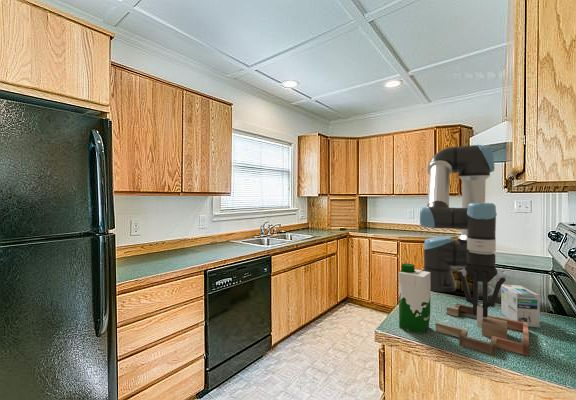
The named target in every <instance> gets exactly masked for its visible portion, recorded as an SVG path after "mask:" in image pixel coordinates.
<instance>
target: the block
mask: <svg viewBox="0 0 576 400" xmlns="http://www.w3.org/2000/svg"><path fill="white" fill-rule="evenodd" d="M481 336H482V337H483V336H484V337H487V338H490V339H491V338H492V336H495V337H499V338H503V339H507V338H508V328H507V321H503V320H499V319H494V318H490V317H487V318H485V317H484V318H483V321H482V328H481ZM507 340H508V339H507Z"/></svg>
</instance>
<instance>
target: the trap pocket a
mask: <svg viewBox="0 0 576 400" xmlns="http://www.w3.org/2000/svg"><path fill="white" fill-rule="evenodd" d="M454 308H458V316H459V317H464V318H468V319H473V320H476V321H477V316H476V315H473V305H472V306H471V305H465V304H461V303H456V304H455V306H454ZM458 316H457V317H458Z"/></svg>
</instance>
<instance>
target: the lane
mask: <svg viewBox="0 0 576 400" xmlns="http://www.w3.org/2000/svg"><path fill="white" fill-rule="evenodd" d="M454 307H455V306H454ZM454 307H453V306H449V305H447V306H446V315H449V316H454V317H458V308H454ZM487 317H490V318H494V319H499V320H503V321H507V329H512V330H514V331H519V332H522V342H520V341H514V340H511V339H503V338H499V337H495V336H492V338H496V339H497V349H501V350H505V351H509V352H512V353H516V354H520V355H525V356H527V357H528V356H529V357H530V341H529V340H530V338H529V326H528V323H524V322H520V321H515V320H510V319H508V318H507V317H500V316H497V315H491V314H490V315H489V314H488V316H487ZM483 318H484V317H483ZM434 330H435V332H436V333H441V334H445V335H449V336H453V337H456V338H459V336H460V334H461V332H462V330H464V331H467V336H468V330H469V329H466V328H462V327H458V326H455V325H454V326H453V325H450V324H446V323H442V322H439V321H436V322H435V329H434Z"/></svg>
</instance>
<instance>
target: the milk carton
mask: <svg viewBox="0 0 576 400" xmlns="http://www.w3.org/2000/svg"><path fill="white" fill-rule="evenodd" d="M400 265H401V266H400V267H401V268H400V269H401V270H399V272H398V274H397V275H398V276H397V277H398V327H399V329H403V330H406V331H409V332H414V333H416V334H417V333H418V334H420V335H423V334H425V332H426V330H427V329H428V328H429V327H430V319H431V295H432V294H431V291H432V290H431V283H430V272H426V271H424V270H423V269H422V270H421V269H415V264H412V263H401V264H400Z"/></svg>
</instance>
